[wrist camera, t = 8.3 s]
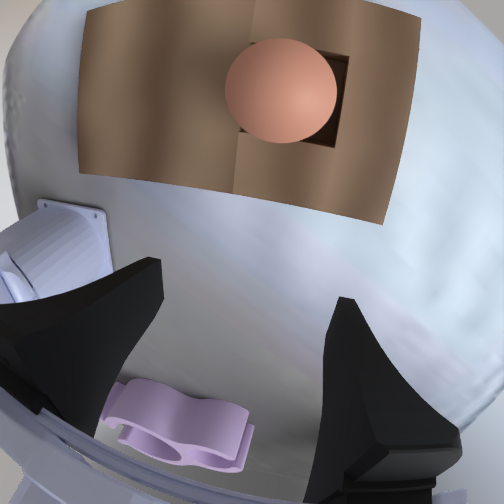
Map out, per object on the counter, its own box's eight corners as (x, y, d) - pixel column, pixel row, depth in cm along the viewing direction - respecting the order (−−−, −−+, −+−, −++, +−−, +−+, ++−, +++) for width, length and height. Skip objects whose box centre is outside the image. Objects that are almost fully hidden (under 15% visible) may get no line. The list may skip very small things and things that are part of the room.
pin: (259, 122, 16) (220, 136, 11) (266, 59, 14) (230, 35, 9) (326, 133, 16) (328, 152, 10) (335, 68, 14) (342, 46, 8)
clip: (241, 390, 30) (225, 443, 24) (260, 439, 36) (249, 480, 30) (107, 369, 36) (83, 404, 30) (143, 417, 41) (126, 449, 35)
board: (104, 162, 20) (79, 173, 18) (113, 16, 14) (87, 11, 12) (374, 206, 18) (382, 225, 15) (406, 29, 12) (421, 18, 9)
